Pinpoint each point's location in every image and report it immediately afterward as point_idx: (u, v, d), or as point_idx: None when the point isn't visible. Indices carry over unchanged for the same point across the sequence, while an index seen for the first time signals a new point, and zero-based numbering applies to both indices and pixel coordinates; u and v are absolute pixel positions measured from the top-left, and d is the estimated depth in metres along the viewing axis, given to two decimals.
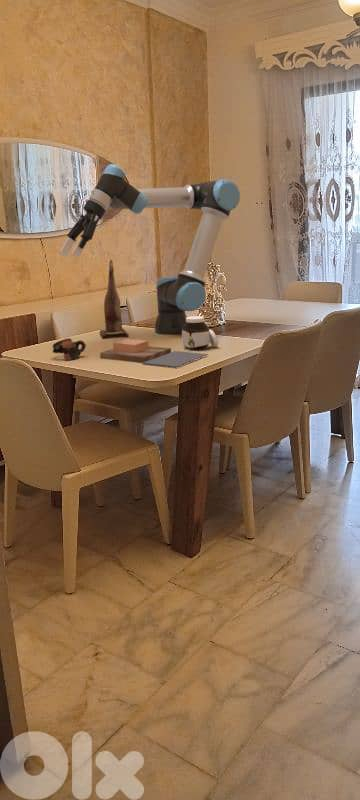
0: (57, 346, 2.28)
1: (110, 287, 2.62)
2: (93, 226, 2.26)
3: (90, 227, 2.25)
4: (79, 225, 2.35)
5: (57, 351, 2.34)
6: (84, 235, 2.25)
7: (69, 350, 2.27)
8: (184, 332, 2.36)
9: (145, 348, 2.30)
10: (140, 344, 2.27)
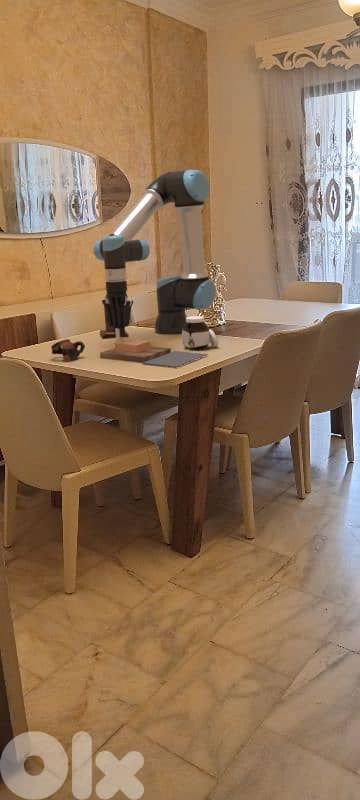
0: (56, 347, 2.26)
1: None
2: (128, 313, 2.27)
3: (127, 316, 2.27)
4: (114, 308, 2.29)
5: (56, 352, 2.32)
6: (121, 326, 2.29)
7: (68, 351, 2.26)
8: (184, 332, 2.36)
9: (147, 348, 2.29)
10: (142, 344, 2.26)
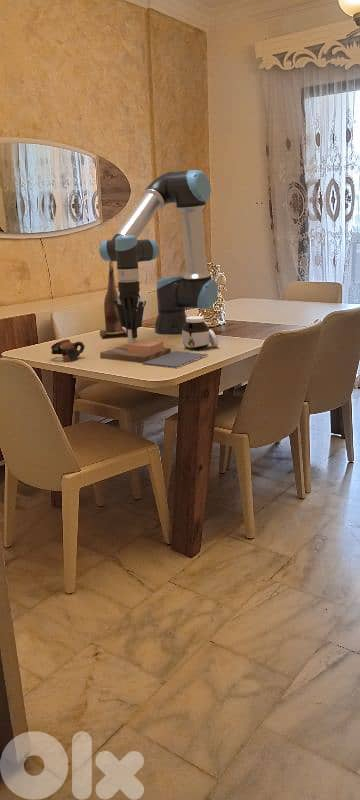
0: (56, 347, 2.26)
1: (110, 287, 2.62)
2: (141, 313, 2.24)
3: (139, 317, 2.24)
4: (126, 309, 2.26)
5: (55, 352, 2.32)
6: (133, 327, 2.26)
7: (68, 351, 2.25)
8: (184, 332, 2.36)
9: (160, 350, 2.26)
10: (155, 346, 2.23)
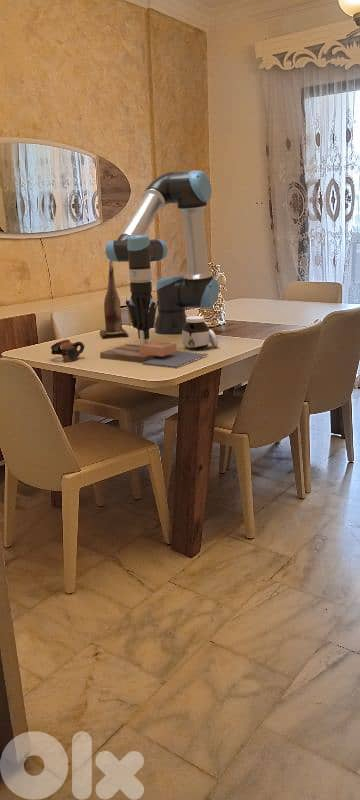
0: (56, 347, 2.26)
1: (110, 287, 2.62)
2: (153, 314, 2.21)
3: (151, 318, 2.21)
4: (138, 309, 2.23)
5: (55, 352, 2.31)
6: (145, 328, 2.23)
7: (68, 351, 2.25)
8: (184, 332, 2.36)
9: (172, 351, 2.23)
10: (167, 347, 2.21)
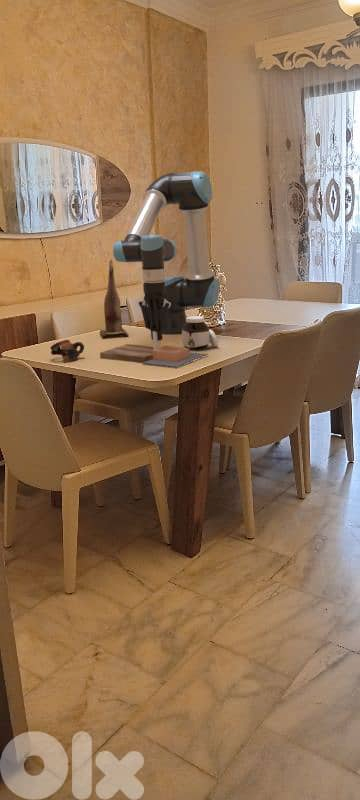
0: (55, 348, 2.25)
1: (110, 287, 2.62)
2: (167, 315, 2.18)
3: (165, 319, 2.18)
4: (152, 310, 2.20)
5: (55, 353, 2.31)
6: (159, 329, 2.20)
7: (68, 352, 2.25)
8: (184, 332, 2.36)
9: (186, 356, 2.21)
10: (181, 352, 2.18)
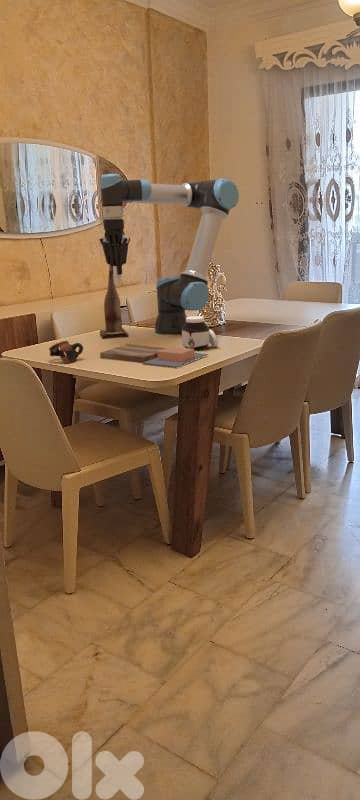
0: (54, 349, 2.23)
1: (110, 287, 2.62)
2: (125, 250, 2.34)
3: (124, 253, 2.34)
4: (112, 246, 2.36)
5: (54, 354, 2.29)
6: (118, 264, 2.36)
7: (67, 353, 2.23)
8: (184, 332, 2.36)
9: (191, 357, 2.20)
10: (186, 352, 2.17)
